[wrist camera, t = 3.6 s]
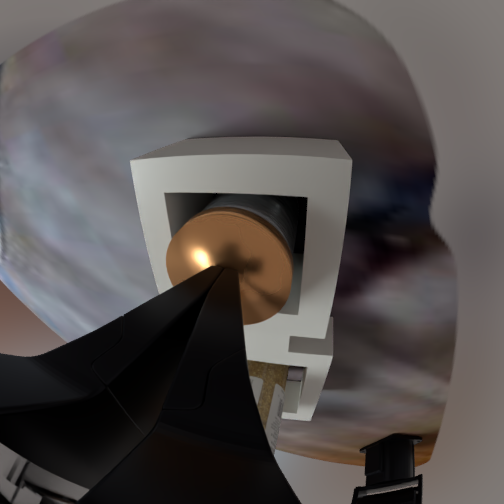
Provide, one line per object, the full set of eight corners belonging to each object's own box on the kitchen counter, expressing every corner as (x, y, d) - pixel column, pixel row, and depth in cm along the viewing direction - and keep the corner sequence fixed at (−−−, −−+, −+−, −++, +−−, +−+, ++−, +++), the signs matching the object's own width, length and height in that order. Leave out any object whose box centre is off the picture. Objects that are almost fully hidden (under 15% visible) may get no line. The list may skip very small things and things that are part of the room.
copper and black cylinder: (299, 249, 13) (287, 331, 9) (222, 243, 14) (178, 315, 10) (303, 171, 11) (294, 222, 7) (215, 168, 12) (155, 214, 8)
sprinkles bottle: (241, 323, 17) (168, 525, 6) (304, 347, 17) (267, 546, 6) (223, 357, 20) (163, 517, 9) (277, 377, 20) (238, 536, 9)
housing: (313, 390, 20) (308, 437, 16) (211, 375, 22) (195, 418, 18) (358, 142, 10) (383, 163, 7) (169, 140, 12) (111, 162, 8)
